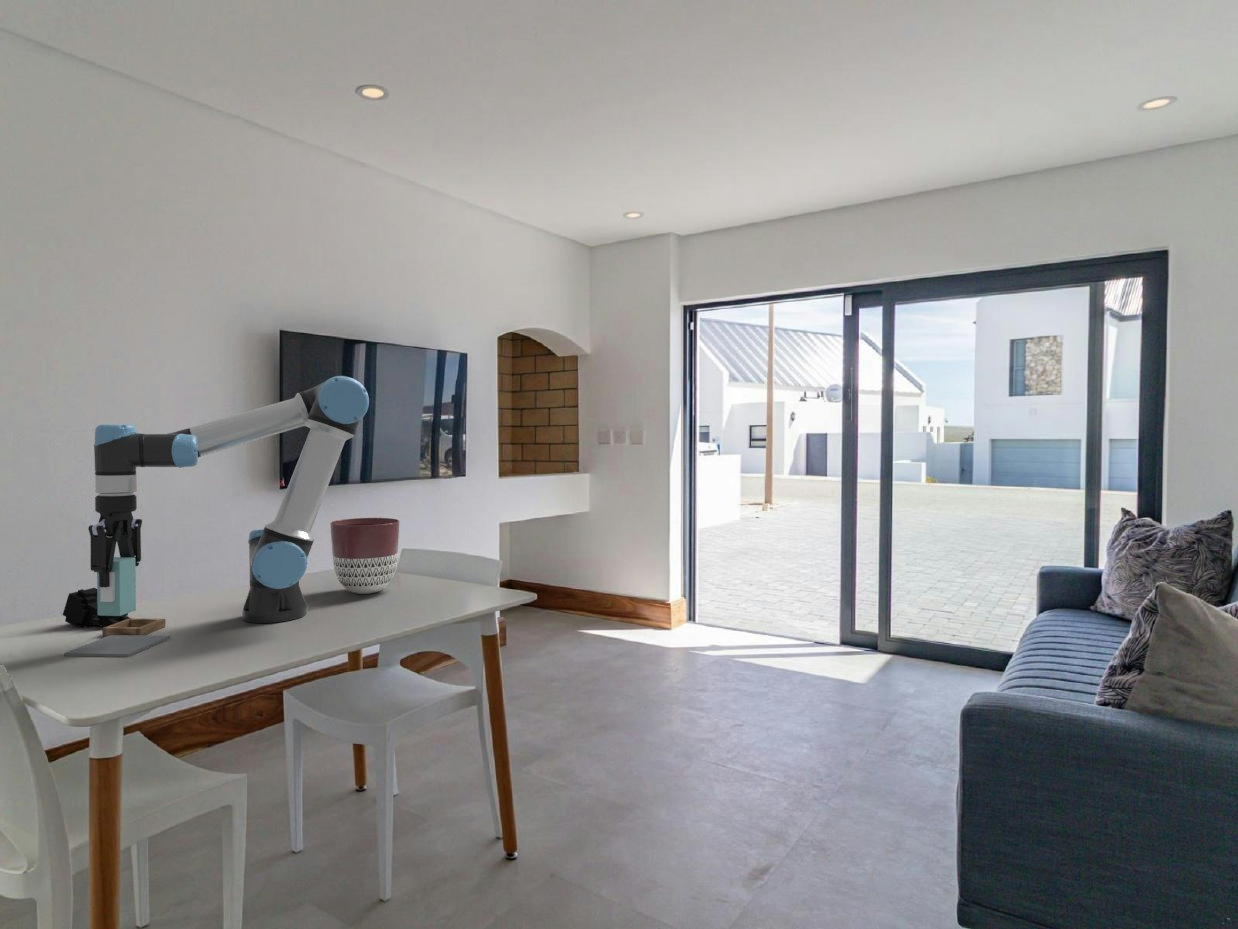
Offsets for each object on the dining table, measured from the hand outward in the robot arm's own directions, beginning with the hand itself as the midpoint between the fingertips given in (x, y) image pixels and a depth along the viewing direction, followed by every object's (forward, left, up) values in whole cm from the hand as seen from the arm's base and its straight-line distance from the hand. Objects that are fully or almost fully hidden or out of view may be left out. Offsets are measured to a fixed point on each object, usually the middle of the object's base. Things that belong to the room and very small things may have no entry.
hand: (117, 598), depth 160 cm
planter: (-34, -57, -11) cm, 68 cm away
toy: (+17, -18, -11) cm, 27 cm away
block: (0, 0, -3) cm, 3 cm away
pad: (0, 0, -11) cm, 11 cm away
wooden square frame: (+5, -12, -11) cm, 17 cm away
